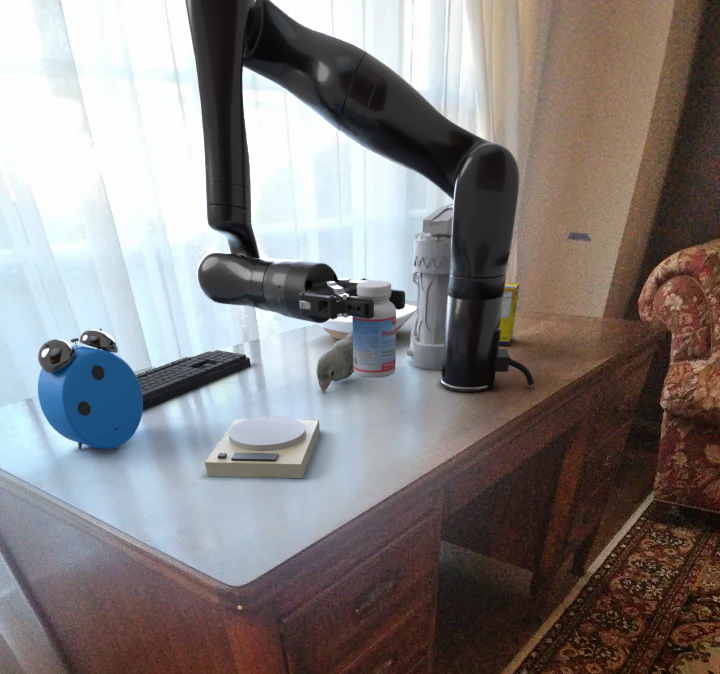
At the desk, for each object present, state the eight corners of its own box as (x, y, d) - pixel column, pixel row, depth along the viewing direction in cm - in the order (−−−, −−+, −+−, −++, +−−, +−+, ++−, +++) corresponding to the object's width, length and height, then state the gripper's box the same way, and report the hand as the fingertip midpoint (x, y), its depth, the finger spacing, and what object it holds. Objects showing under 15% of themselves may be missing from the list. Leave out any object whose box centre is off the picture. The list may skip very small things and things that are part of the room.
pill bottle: (391, 380, 81) (393, 288, 73) (349, 378, 82) (346, 287, 74) (398, 367, 85) (400, 279, 78) (358, 365, 86) (356, 278, 79)
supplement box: (512, 339, 127) (520, 282, 120) (508, 346, 123) (516, 287, 116) (485, 337, 129) (492, 281, 122) (481, 344, 125) (487, 286, 117)
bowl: (353, 320, 144) (353, 296, 140) (428, 331, 134) (429, 306, 130) (297, 339, 130) (295, 313, 127) (375, 353, 121) (375, 325, 117)
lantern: (449, 373, 110) (462, 210, 93) (400, 366, 114) (405, 209, 97) (474, 356, 118) (490, 204, 102) (428, 350, 122) (436, 203, 106)
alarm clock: (128, 426, 92) (98, 321, 82) (155, 433, 89) (127, 326, 79) (57, 455, 83) (14, 343, 73) (85, 464, 81) (44, 349, 71)
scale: (319, 432, 88) (318, 414, 86) (302, 478, 76) (300, 458, 74) (237, 431, 89) (234, 413, 87) (207, 476, 77) (203, 456, 75)
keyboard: (210, 357, 121) (208, 347, 119) (252, 365, 116) (250, 354, 115) (69, 410, 98) (65, 398, 97) (114, 421, 93) (111, 408, 92)
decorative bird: (309, 391, 103) (305, 345, 98) (348, 367, 114) (347, 324, 109) (335, 394, 101) (333, 348, 96) (373, 369, 112) (373, 327, 107)
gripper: (260, 267, 78) (351, 280, 70) (332, 254, 86) (422, 264, 78) (267, 328, 83) (353, 347, 75) (335, 310, 91) (419, 325, 83)
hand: (388, 304), depth 76 cm, fingers closed on pill bottle, 6 cm apart
